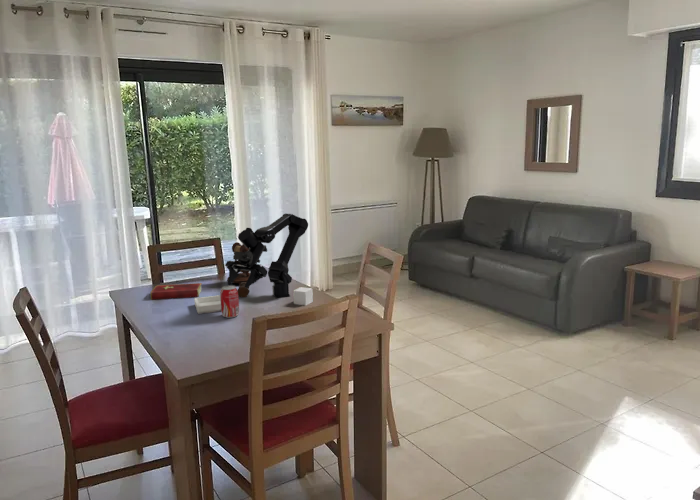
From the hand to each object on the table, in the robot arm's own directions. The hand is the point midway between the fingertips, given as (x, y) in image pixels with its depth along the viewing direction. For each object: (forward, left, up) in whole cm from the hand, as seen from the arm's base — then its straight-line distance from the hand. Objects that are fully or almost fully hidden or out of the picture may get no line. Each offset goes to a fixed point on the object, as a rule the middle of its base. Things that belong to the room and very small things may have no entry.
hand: (237, 286), depth 217 cm
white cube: (-28, -2, -12) cm, 31 cm away
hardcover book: (+22, -39, -12) cm, 47 cm away
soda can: (+4, +3, -12) cm, 13 cm away
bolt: (-7, -29, -12) cm, 32 cm away
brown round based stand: (-10, -49, -12) cm, 51 cm away
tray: (+8, -12, -11) cm, 18 cm away
